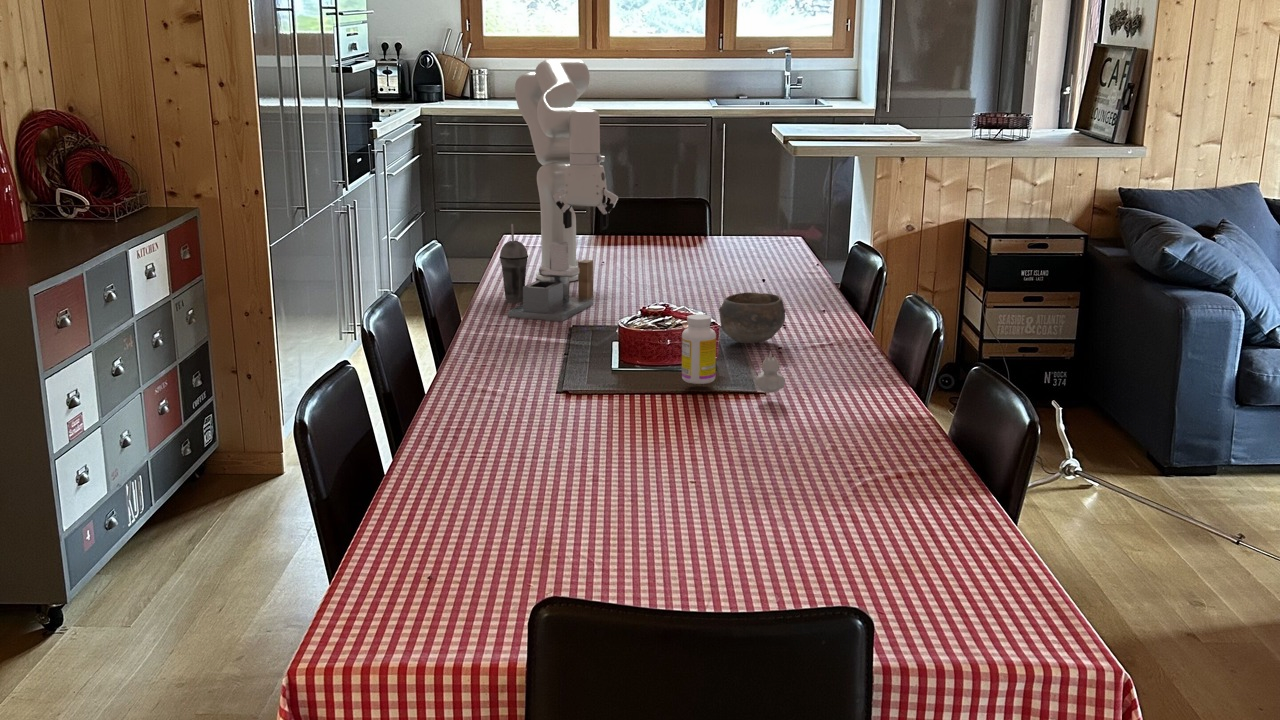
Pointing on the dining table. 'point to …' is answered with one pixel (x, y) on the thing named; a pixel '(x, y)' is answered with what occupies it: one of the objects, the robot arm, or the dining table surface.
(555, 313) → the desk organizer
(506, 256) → the beverage cup
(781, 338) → the dining table surface
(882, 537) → the dining table surface
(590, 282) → the brown wooden block
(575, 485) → the dining table surface
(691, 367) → the supplement bottle
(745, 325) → the bowl
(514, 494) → the dining table surface
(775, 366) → the gourd
